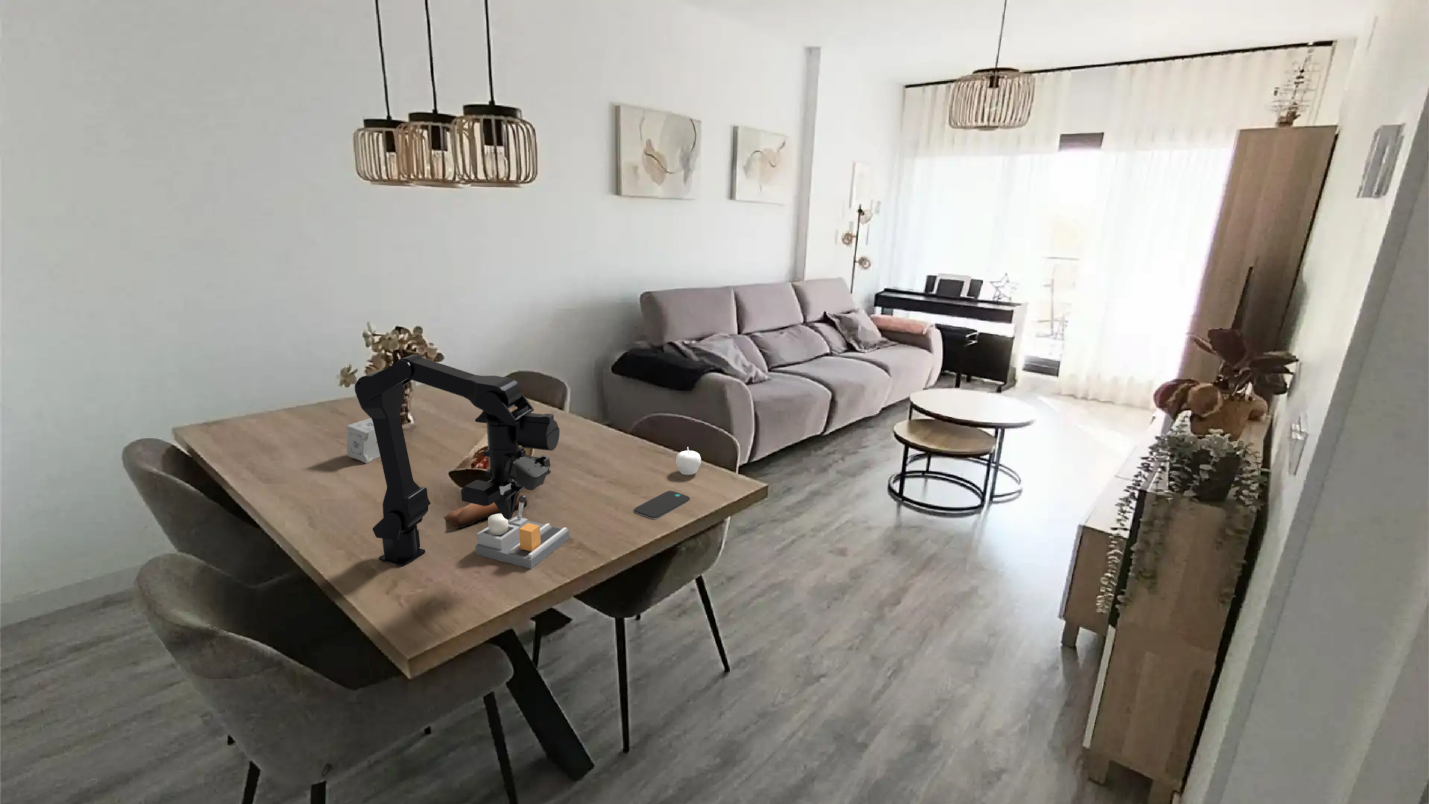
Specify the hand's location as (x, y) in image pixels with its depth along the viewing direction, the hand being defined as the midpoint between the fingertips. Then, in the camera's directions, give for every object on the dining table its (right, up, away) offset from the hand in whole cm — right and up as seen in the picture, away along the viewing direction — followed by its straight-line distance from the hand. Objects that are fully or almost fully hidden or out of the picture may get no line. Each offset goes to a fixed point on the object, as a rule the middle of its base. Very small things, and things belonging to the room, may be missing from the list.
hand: (508, 518), depth 129 cm
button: (-5, -4, +11) cm, 13 cm away
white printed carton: (-57, +7, +58) cm, 82 cm away
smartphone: (+28, -3, +35) cm, 45 cm away
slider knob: (+2, -8, +9) cm, 12 cm away
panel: (-1, -8, +13) cm, 16 cm away
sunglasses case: (-14, -4, +28) cm, 32 cm away
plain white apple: (+33, +3, +56) cm, 65 cm away
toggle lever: (-4, -3, +19) cm, 20 cm away
